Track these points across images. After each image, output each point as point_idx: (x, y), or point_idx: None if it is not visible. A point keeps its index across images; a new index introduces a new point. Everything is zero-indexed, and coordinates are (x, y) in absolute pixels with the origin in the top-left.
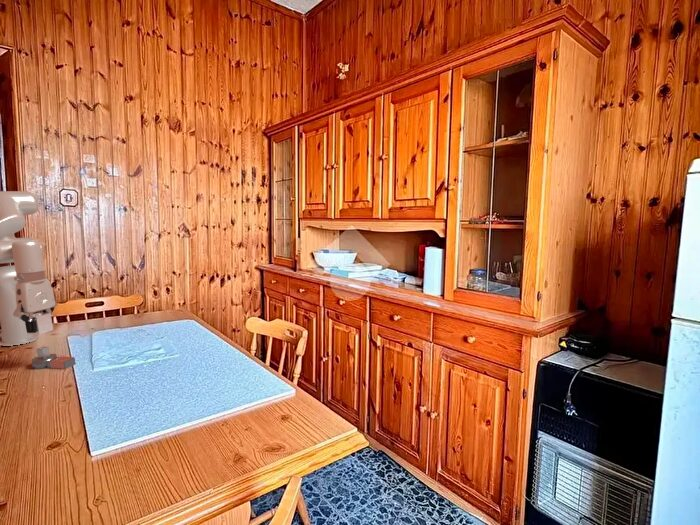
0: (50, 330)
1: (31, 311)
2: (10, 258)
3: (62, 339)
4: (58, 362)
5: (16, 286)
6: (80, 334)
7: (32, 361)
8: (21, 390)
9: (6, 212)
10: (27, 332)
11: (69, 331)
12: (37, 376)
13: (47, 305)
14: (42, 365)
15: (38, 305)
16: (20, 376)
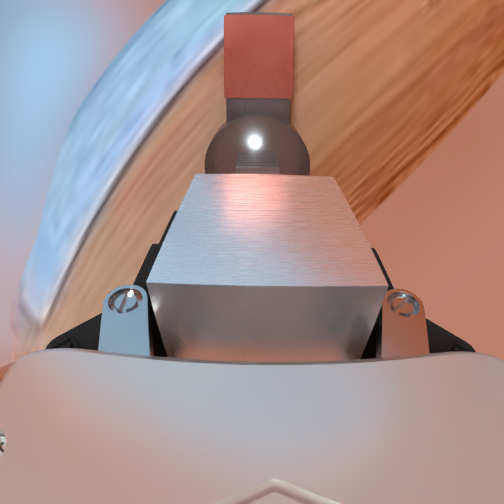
0: (222, 175)
1: (492, 357)
2: None
3: (60, 320)
4: (292, 47)
5: None
6: (19, 303)
7: None
8: (468, 54)
9: None
10: None
11: (30, 344)
12: (367, 86)
13: (149, 407)
14: (297, 132)
15: (387, 458)
16: (367, 160)
